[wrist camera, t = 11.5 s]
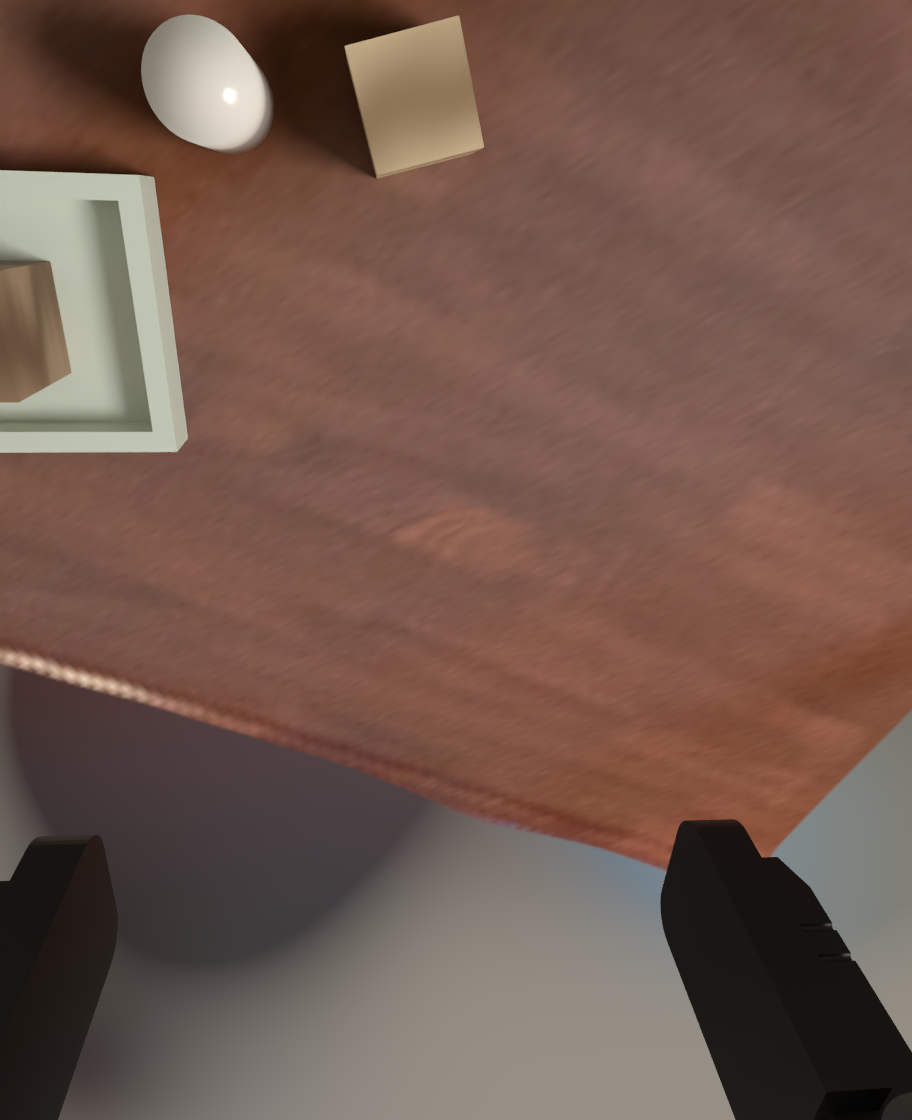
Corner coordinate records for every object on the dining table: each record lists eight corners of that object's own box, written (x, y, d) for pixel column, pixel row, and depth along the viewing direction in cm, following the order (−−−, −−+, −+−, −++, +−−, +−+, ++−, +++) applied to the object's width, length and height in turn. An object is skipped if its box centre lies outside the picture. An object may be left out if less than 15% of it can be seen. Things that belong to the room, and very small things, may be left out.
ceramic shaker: (173, 44, 31) (132, 11, 26) (270, 49, 32) (250, 17, 26) (186, 152, 33) (150, 142, 28) (277, 156, 33) (260, 146, 28)
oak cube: (347, 65, 32) (344, 45, 28) (448, 38, 32) (458, 15, 28) (376, 178, 34) (377, 175, 30) (470, 153, 34) (484, 147, 30)
